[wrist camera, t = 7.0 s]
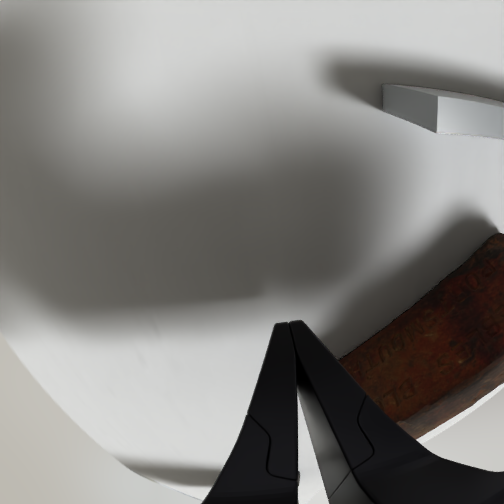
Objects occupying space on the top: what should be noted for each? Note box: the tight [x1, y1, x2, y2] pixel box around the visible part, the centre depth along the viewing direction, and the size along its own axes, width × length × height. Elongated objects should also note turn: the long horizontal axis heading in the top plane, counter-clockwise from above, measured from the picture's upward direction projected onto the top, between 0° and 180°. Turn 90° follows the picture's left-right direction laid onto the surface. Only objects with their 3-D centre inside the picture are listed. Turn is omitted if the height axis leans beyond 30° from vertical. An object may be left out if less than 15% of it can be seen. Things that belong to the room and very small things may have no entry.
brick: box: [339, 233, 504, 440], centre depth 10 cm, size 11×4×5 cm, turn 138°
